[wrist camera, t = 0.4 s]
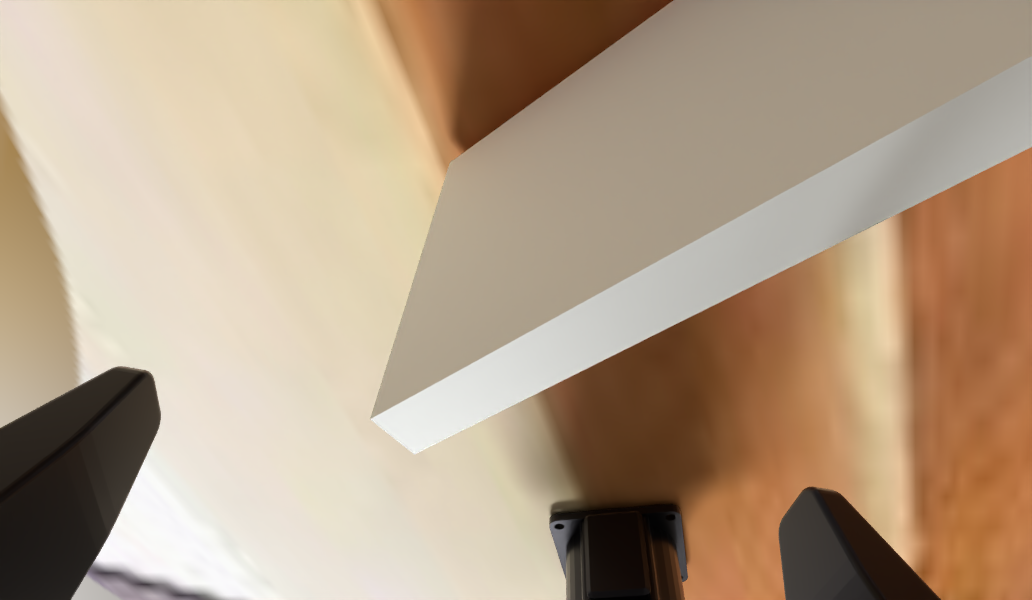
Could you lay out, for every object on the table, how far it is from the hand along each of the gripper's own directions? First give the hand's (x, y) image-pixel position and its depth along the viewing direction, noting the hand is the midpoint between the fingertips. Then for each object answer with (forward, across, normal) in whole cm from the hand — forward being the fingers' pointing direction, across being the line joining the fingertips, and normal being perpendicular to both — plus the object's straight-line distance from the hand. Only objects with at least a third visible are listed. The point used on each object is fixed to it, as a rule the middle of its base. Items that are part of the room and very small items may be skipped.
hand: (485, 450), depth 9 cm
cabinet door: (+13, -4, -4) cm, 14 cm away
